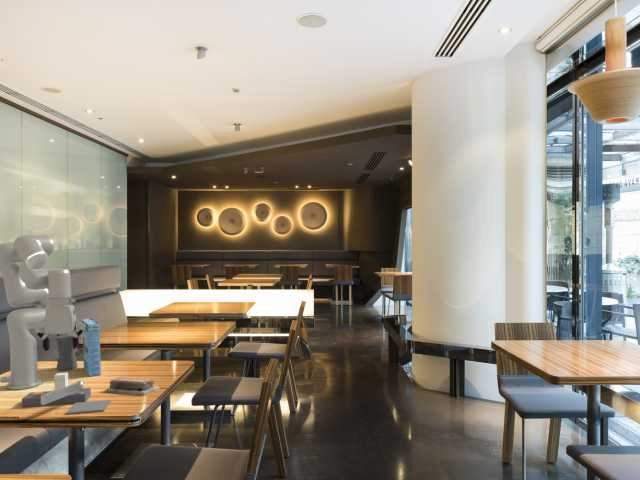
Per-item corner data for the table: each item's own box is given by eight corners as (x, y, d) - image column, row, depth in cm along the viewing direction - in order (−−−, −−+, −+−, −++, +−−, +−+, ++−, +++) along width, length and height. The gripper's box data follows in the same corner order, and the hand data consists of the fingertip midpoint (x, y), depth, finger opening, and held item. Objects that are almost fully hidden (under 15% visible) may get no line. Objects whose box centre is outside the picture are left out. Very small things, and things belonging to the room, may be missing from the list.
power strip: (21, 407, 178) (21, 397, 178) (30, 400, 186) (30, 390, 186) (85, 402, 182) (84, 392, 182) (90, 395, 190) (90, 386, 190)
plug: (49, 404, 181) (48, 376, 181) (55, 398, 187) (54, 372, 187) (68, 402, 182) (68, 375, 182) (73, 397, 188) (73, 371, 188)
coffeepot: (84, 367, 235) (83, 329, 235) (64, 372, 227) (63, 332, 227) (67, 363, 244) (66, 326, 244) (47, 368, 236) (46, 329, 236)
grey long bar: (44, 404, 166) (44, 395, 166) (40, 404, 167) (39, 395, 167) (84, 389, 184) (84, 381, 184) (79, 389, 184) (79, 380, 184)
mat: (65, 414, 169) (65, 412, 169) (75, 404, 180) (75, 402, 180) (103, 411, 172) (103, 409, 172) (110, 401, 182) (110, 399, 182)
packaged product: (105, 380, 194) (122, 374, 204) (105, 393, 194) (123, 386, 204) (143, 384, 189) (160, 377, 198) (144, 396, 189) (160, 389, 198)
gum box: (101, 375, 220) (99, 323, 221) (88, 377, 218) (87, 324, 218) (94, 366, 237) (93, 318, 237) (82, 368, 234) (81, 319, 234)
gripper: (87, 300, 190) (89, 345, 189) (37, 302, 186) (39, 349, 186) (82, 302, 182) (83, 349, 182) (30, 305, 179) (31, 353, 179)
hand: (61, 349), depth 184 cm, fingers open, 9 cm apart
